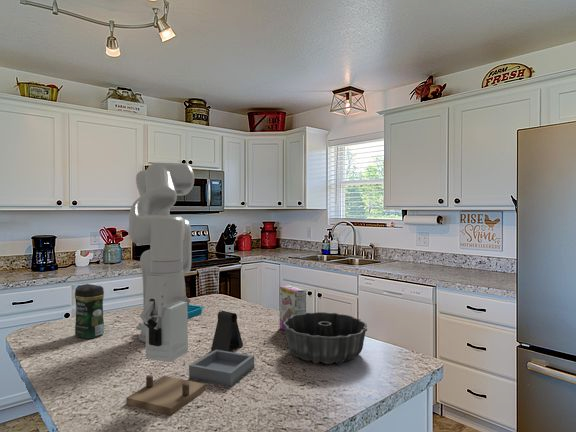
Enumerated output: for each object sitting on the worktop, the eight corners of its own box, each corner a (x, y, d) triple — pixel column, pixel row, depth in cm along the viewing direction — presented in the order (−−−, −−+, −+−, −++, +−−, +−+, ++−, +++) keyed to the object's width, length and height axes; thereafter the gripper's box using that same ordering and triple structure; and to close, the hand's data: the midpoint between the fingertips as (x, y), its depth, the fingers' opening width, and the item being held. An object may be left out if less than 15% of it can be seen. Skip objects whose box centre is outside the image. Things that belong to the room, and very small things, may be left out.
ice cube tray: (205, 313, 171) (205, 306, 171) (173, 325, 153) (173, 318, 153) (184, 310, 176) (184, 303, 176) (151, 321, 158) (151, 314, 158)
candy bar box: (278, 328, 148) (278, 286, 148) (289, 326, 151) (289, 284, 151) (295, 336, 139) (295, 291, 138) (306, 334, 142) (306, 289, 141)
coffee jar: (70, 336, 139) (70, 285, 138) (91, 330, 145) (90, 281, 145) (88, 341, 134) (87, 287, 134) (108, 334, 141) (107, 284, 141)
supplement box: (189, 352, 96) (188, 301, 96) (170, 363, 89) (170, 308, 89) (164, 348, 98) (163, 299, 98) (144, 359, 91) (144, 306, 91)
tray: (189, 378, 104) (189, 365, 104) (215, 361, 116) (215, 349, 116) (230, 386, 99) (230, 373, 99) (254, 367, 111) (254, 355, 111)
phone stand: (224, 354, 121) (224, 316, 121) (210, 350, 125) (210, 313, 125) (243, 346, 129) (243, 310, 128) (230, 342, 132) (230, 308, 132)
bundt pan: (383, 354, 122) (383, 322, 122) (332, 379, 103) (332, 342, 103) (319, 335, 141) (319, 307, 141) (266, 354, 122) (266, 322, 122)
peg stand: (126, 403, 90) (126, 386, 90) (164, 381, 102) (164, 366, 102) (171, 415, 85) (171, 397, 85) (205, 390, 97) (205, 374, 97)
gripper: (177, 262, 103) (177, 328, 103) (127, 271, 87) (127, 349, 87) (201, 263, 100) (201, 331, 100) (153, 273, 84) (154, 354, 84)
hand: (167, 339), depth 94 cm, fingers closed on supplement box, 7 cm apart
